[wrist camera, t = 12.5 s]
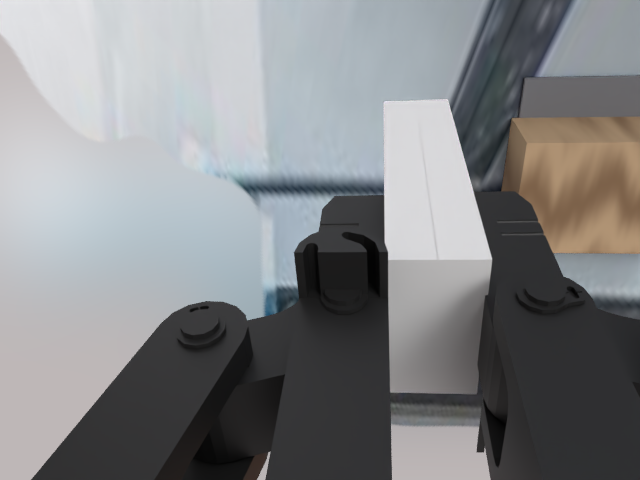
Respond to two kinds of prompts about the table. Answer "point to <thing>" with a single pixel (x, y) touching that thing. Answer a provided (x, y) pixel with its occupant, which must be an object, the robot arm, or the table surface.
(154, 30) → the table surface
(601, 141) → the block
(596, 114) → the mat
